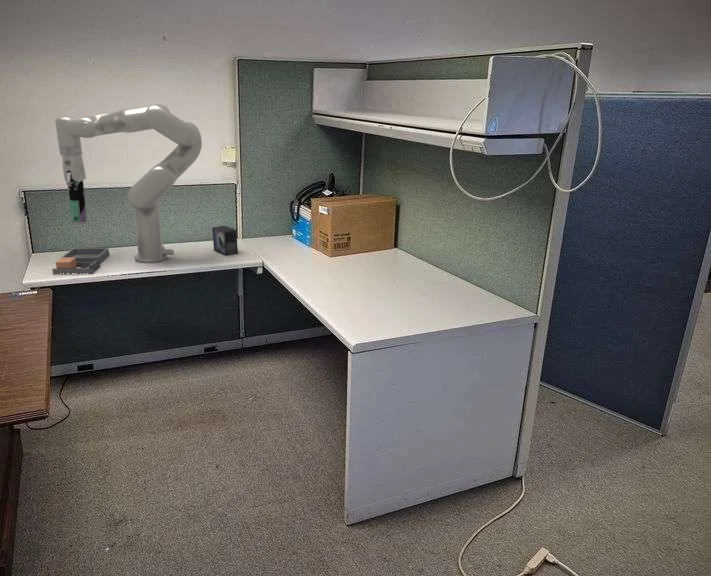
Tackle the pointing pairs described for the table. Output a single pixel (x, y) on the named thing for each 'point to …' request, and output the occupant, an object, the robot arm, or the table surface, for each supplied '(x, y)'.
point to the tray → (88, 254)
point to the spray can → (78, 206)
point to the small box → (225, 240)
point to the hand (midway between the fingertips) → (77, 198)
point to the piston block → (66, 263)
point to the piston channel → (92, 268)
